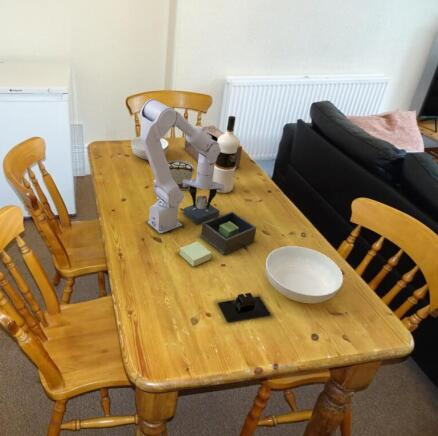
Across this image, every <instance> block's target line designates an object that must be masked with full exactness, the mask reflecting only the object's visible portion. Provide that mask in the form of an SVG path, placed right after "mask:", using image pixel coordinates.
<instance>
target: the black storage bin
mask: <svg viewBox="0 0 438 436" xmlns="http://www.w3.org/2000/svg"><path fill="white" fill-rule="evenodd" d="M229 221H230V222H232V223H233V224H234V225H236V226H237V227H239V232H238V234H237V235H234V236H232V237H229V238H227V239H226V238H225V237H223V236H222V235H221V234H219V227H220V225H222V224H224V223H227V222H229ZM201 224H202V225H201V231H200V238H201V239H203V240H204V241H205V242H206V243H208V244H209V245H210V246H211V247H213V248H214V249H215V250H217V251H218V252H219V253H221V255H223V256H224V255H225V256H226V255H227V254H229V253H231V252H234V251H236V250H239V249H240V248H242V247H245V246H248V245H250V244H253V243H254V242H255V237H256V232H257V227H256V226H255V225H253V224H252V223H250V222H249V221H248V220H246V219H245V218H243V217H242V216H240V215H239V214H237V213H236V212H234V211H230V212H227V213H224V214H221V215H219V216H218V217H215V218H213V219H210V220H208V221H205V222H202V223H201Z"/></svg>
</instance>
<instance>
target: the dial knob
mask: <svg viewBox="0 0 438 436" xmlns="http://www.w3.org/2000/svg"><path fill="white" fill-rule="evenodd" d="M207 202H208V197H207V196H206V195H197V196H196V207H197V208H199V209H205V208H206V204H207Z"/></svg>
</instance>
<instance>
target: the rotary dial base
mask: <svg viewBox="0 0 438 436" xmlns="http://www.w3.org/2000/svg"><path fill="white" fill-rule="evenodd" d="M207 203H208V201H207ZM182 213H183V215H184V216H185V217H187V218H188V219H189V220H190V221H192V222H193V223H195V224H196V225H200V224H202V223H203V222H206V221H208V220H211V219H214V218H216V217H219V216H220V210H219V209H218V208H216V207H214V206H213V205H212V204H210V205H209V208H207V204H206V208H205V209H199V208H197V207H196V204H195V206H193V204H192V205H188V206H186V207H183V212H182Z"/></svg>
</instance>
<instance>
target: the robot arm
mask: <svg viewBox="0 0 438 436" xmlns="http://www.w3.org/2000/svg"><path fill="white" fill-rule="evenodd" d="M139 115H140V116H139V117H140V119H141V122H140V133H139V136H140V138H141V141H142V144H143V147H144V149H145V152H146V155H147V157H148V160H147V161H148V163H149V166H150V168H151V171H152V174H153V176H154V180H153V181H152V183H153V193H154V195H156V199H157V201H156V202H155V203H154V204H152V205H151V206H150V207H149V211H148V212H149V214H148V221H147V224H148V225H149V226H151V227H152V228H153V229H154V230H155V231H157V232H158V233H159V234H163V233H166V232H168V231H172V230H174V229H176V228H179V227H182V226H183V224H182V223H181V222H180V221H179V220H178V216H179V215H178V214H179V206H180V205H181V204H182V202H183V200H184V199H185V198H184V197H185V194H184V192H183V190H182V189H179V187H178V185H177V184H176V182H175V181H174V180H173V178H172V175H171V172H170V169H169V166H168V163H167V162H168V159H167V156H166V154H164V151H163V148H162V145H161V141H160V139H162V138H163V139H164V137H165V136H166V135H167V133H169V131H170V130H171V129H172V128H177V129H178V130H179V131H180V132H182V133H184V134H185V137H186V140H187V141H188V142H189V143H190V144H191V145H192V146H194V147H195V148H196V151H198V152H200V153H199V158H198V161H197V168H196V177H195V179H191V180H183V187H186V186H188V187H189V190H188V191H189V194H190V197H191V199H192V205H193V206H195V204H196V203H197V191H198V189H199V190H209V192H208V197H207V202H208V203H207V208H209V205H211V203H212V201H213V200H214V198H215V197H216V196H217V194H218V192H217V190H221V192H224V188H225V184H220V183H216V182H213V174H214V166H215V162H216V161H217V156H218V155H219V153H220V151H221V149H220V147H219V144H218V143H217V142H216V141H214V140H212V139H211V138H212V136H210V135H209V134H208V135H207V134H206V133H205V132H204V130H205V129H204V128H203V127H204V126H198V125H192V124H191V123H190V122H189V121H188V120H187V118H185V117H184V116H183V115H182V113H181V112H179V111H177V110H176V109H175V108H173V107H170V106H168V105H166V104H164V103H163V102H160V101H159V100H158V99H156V98H149V99H148V100H147V101H145V102H144V104H143V106H142V107H141V109H140V112H139Z"/></svg>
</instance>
